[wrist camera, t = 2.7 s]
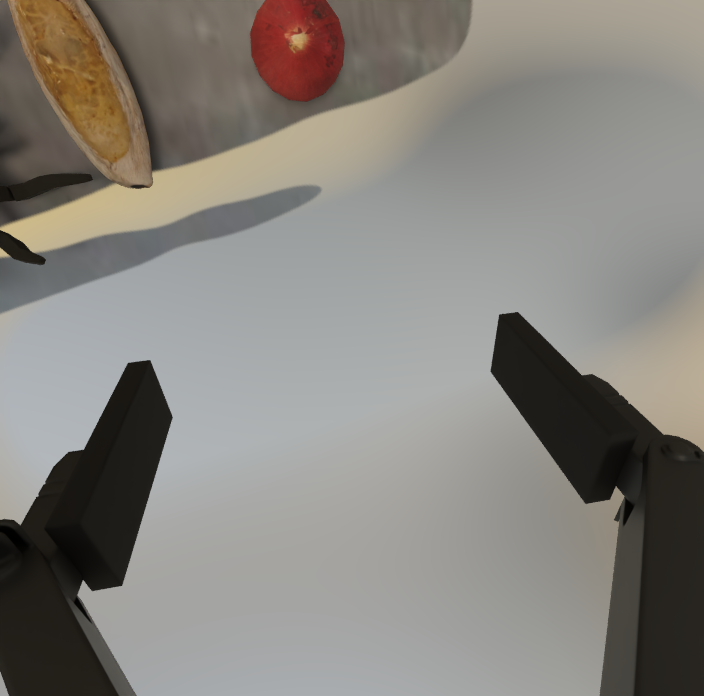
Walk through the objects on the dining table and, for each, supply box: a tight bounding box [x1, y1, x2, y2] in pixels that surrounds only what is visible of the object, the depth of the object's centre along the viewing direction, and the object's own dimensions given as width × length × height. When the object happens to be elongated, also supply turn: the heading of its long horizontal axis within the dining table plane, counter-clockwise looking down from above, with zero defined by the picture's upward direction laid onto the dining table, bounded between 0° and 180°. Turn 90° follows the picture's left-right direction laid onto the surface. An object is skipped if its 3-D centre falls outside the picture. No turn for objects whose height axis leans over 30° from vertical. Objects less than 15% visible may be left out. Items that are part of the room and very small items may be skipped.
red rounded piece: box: [250, 0, 345, 101], centre depth 26 cm, size 6×6×8 cm
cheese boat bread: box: [7, 0, 153, 189], centre depth 27 cm, size 5×14×4 cm, turn 14°
